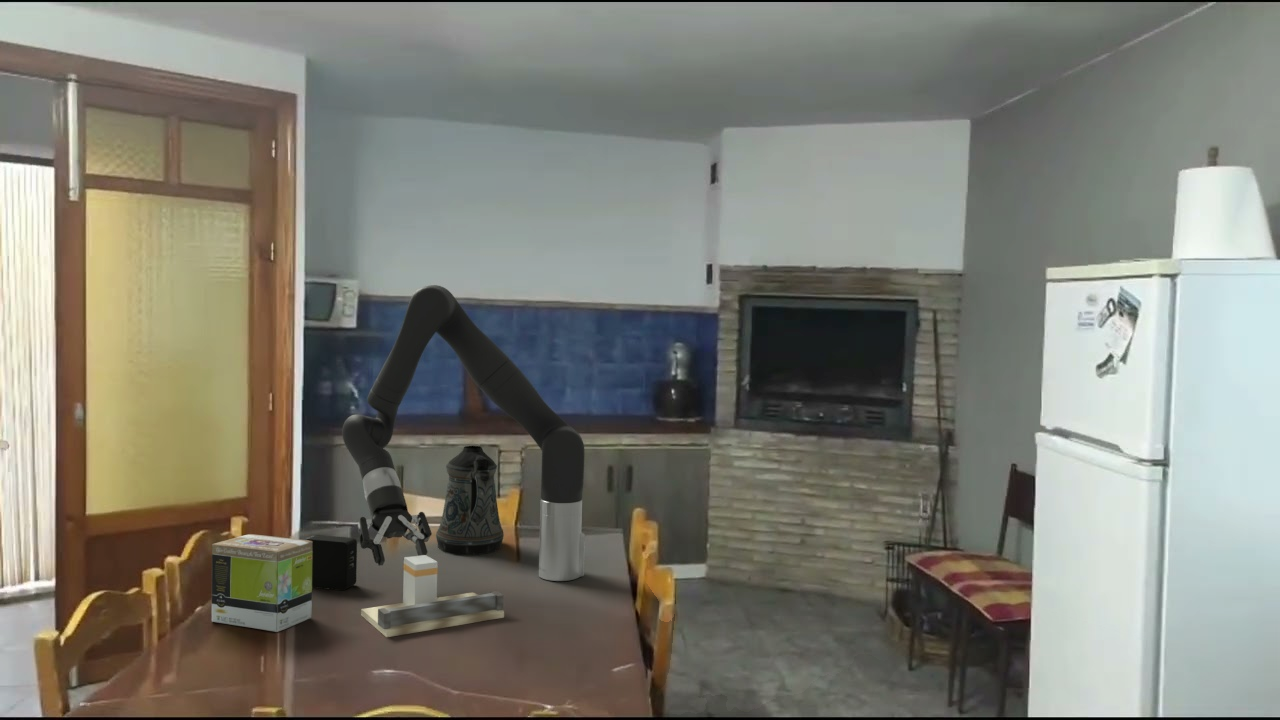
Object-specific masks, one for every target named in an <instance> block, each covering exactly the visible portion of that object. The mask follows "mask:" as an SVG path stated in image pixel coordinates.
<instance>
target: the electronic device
mask: <svg viewBox="0 0 1280 720" xmlns="http://www.w3.org/2000/svg"><path fill="white" fill-rule="evenodd" d="M305 540H309V541H312V588H314V587H318V588H317V589H324V588H329V590H335V589H338V590H337V591H345V590H347V589H348V588H349V589H350V587H353V586H354V585H356V583H357V569H358V568H357V564H358V562H357V561H358V560H357V559H358V558H357V557H358V541H357V539H356V538H354V537H347V536H346V537H345V536H334V535H322V534H321V535H320V534H316V535H311V536H310V537H306V538H305Z"/></svg>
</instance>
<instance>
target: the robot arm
mask: <svg viewBox="0 0 1280 720" xmlns="http://www.w3.org/2000/svg"><path fill="white" fill-rule="evenodd" d="M435 334H438V335H439V336H440V337H441V339H443V340H444V341H445V342H446V343H447V344H448V345H449V346H450V348H451V349H452V350H453V351H454V352H455V354H456V355H457V356H456V357H458V359H459V361H460V363H461V364H462V366H463V368H464V369H465V371H466V372H467V374H468V375H469V377H470V378H471V380H472V382H474V383H475V385H476V386H477V387H478V389H480V391H482V392H483V393H484V394H485V396H486V397H487V398H488V399H489V400H490V401H491V402H492V403H493V404H495V406H497V407H498V408H499V409H500V410H502V412H504V413H505V414H507V415H508V416H509V417H510V418H511V419H513V420H515V421H516V422H517V423H518V424H519V425H520V426H522V427H523V429H524V430H526V432H527V433H528V435H530V437H531V438H532V439H533V441H534V442H535V443H536V444H537V446H538V448H539V449H540V450H541V475H540V476H541V477H540V478H541V480H540V481H541V482H540V511H539V512H540V515H539V543H538V545H539V547H538V548H539V549H538V550H539V552H538V577H539V578H540V579H544V580H546V581H555V582H564V581H565V582H567V581H572V580H577V579H578V578H580V577H585V576H584V573H585V571H584V570H585V546H586V545H585V544H586V543H585V542H586V535H585V533H584V532H582V522H583V521H582V516H583V514H582V513H583V492H584V481H585V480H584V477H585V445H584V444H585V443H584V441H583V438H582V436H581V435H580V433H579V431H577V430H575V428H573V427H572V426H571V425H569V424H568V423H567V422H566V421H565V420H564V419H563V418H561V417H560V416H559V415H558V414H557V412H555V411H554V410H553V409H552V408H551V407H550V406H549V405H548V404H547V403H546V402H545V400H544V399H543V398H542V397H541V395H540V394H539V392H538V390H537V389H536V388H535V387H534V386H533V384H532V383H531V382H530V380H529V379H528V378H527V377H526V375H525V374H524V373H523V371H522V370H521V369H520V368H519V367H518V366H517V365H516V364H515V363H514V362H513V360H511V359H510V358H509V356H508V355H507V354H506V353H504V351H503V350H502V349H501V348H499V346H498V345H496V343H495V342H493V341H492V339H491V338H489V337H488V336H487V335H486V334H485V333H484V332H483V331H482V330H481V329H480V328H479V327H478V326H477V325H476V324H475V323H474V321H473V320H472V319H471V318H470V317H469V314H467V312H466V311H465V310H464V308H463V306H461V305H460V303H459V301H457V299H456V298H455V296H454V295H453V293H452V292H451V291H450V290H448V289H447V288H446V287H443V286H441V285H437V284H436V285H435V284H434V285H431V284H430V285H425V286H423V287H420V288H418V289H417V290H415V291H414V292H413V294H412V295H411V297H410V299H409V301H408V305H407V309H406V312H405V315H404V318H403V322H402V325H401V328H400V330H399V333H398V335H397V338H396V339H395V342H394V344H393V346H392V349H391V350H390V353H389V355H388V356H387V358H386V360H385V362H384V364H383V366H382V367H381V369H380V372H379V373H378V375H377V376H376V379H375V380H374V383H373V385H372V387H371V388H370V390H369V393H368V395H367V397H366V401H367V404H368V405H369V406H370V407H371V408H372V409H374V410H375V411H376V412H377V414H376V417H371V416H366V415H364V414H357V413H356V414H352V415H350V416H349V417H347V418H346V419H345V420H344V423H343V425H342V429H341V431H342V432H341V434H342V439H343V443H344V445H345V447H346V449H347V450H348V452H349V454H350V455H351V457H352V458H353V460H354V461H355V463H356V464H357V466H358V468H359V473H360V477H361V481H362V484H363V485H362V486H363V493H364V498H365V500H366V504H367V508H368V511H369V515H370V518H368V519H367V518H366V517H365V516H361V517H360V519H359V521H358V523H357V525H356V526H357V527H356V528H357V533H358V538H359V545H360V548H361V549H363V550H364V549H365V550H366V549H370V550H371V553H372V556H373V560H374V562H375V564H377V565H378V566H383V565H384V564H385V561H386V559H385V554H384V551H383V548H382V547H383V546H382V544H380V543H381V541H382V539H383V538H386V539H392V538H402V537H404V538H405V539H406V540H407V541H411V542H412V543H413V544H415V550H416V554H417V556H421V555H427V556H428V550H427V546H426V543H427V542H429V539H430V538H431V536H432V535H433V533H432V530H431V528H430V525H429V522H428V519H427V517H426V514H425V512H423V511H420V512H419V513H418V514H412V515H411V514H410V513H409V511H408V504H407V501H406V497H405V495H404V491H403V488H402V484H401V481H400V479H399V476H398V474H397V472H396V468H395V464H394V462H393V458H392V456H391V453H390V452H389V451H387V449H385V448H386V447H387V446H388V444H390V442H391V441H392V437H393V435H394V434H393V433H394V429H395V423H396V419H397V415H398V412H399V411H398V410H399V407H400V406H401V403H402V401H403V399H404V397H405V396H406V393H407V392H408V390H409V388H410V386H411V384H412V382H413V378H414V375H415V373H416V371H417V367H418V365H419V362H420V360H421V357H422V355H423V353H424V351H425V350H426V347H427V346H428V344H429V343H430V341H431V339H432V338H433V337H434V335H435ZM413 523H414V524H415V525H414V524H413ZM416 526H417V527H416ZM370 527H371V528H372V529H374V530H375V531H376V532H377V534H376V535H375V537H374V539H371V538H370V533H369V529H370Z"/></svg>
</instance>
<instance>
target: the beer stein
mask: <svg viewBox="0 0 1280 720" xmlns="http://www.w3.org/2000/svg"><path fill="white" fill-rule="evenodd" d="M497 468H498V465H497V464H496V463H495V461H494V460H493V459H492V458H491V457H490V456H489V455H487V453H485V451H484V450H483V447H482V446H481V445H480V446H479V445H466V446H463V448H462V451H460V452H459V453H458V454H457V455H455V456H454V457H453V458H452V459H451V460H449V461H448V462H447V464H446V465H445V469H446V473H447V474H448V481H447V488H446V492H445V498H444V499H445V500H444V505H443V511H442V516H441V519H440V524H439V526H438V528H437V531H436V533H435V538H436V541H437V549H438V548H439V549H438V550H440V551H442V552H444V553H447V554H453V555H464V556H465V555H481V554H490V553H494V552H497V551H498V550H500V549H502V544H503V539H504V529H503V527H502V524H501V521H500V516H499V510H498V509H499V508H498V501H497V494H496V483H495V474H496V472H497Z"/></svg>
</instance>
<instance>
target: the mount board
mask: <svg viewBox="0 0 1280 720" xmlns="http://www.w3.org/2000/svg"><path fill="white" fill-rule="evenodd" d="M360 615H361V617H362V618H363V619H364V620H366V622H368V623H370V625H371V626H372V627H373V628H375V629H376V630H377V631H378V632H380V633H381V634H382V635H383V636H384V637H385V638H391V637H396V636H398V637H399V636H402V635H403V636H404V635H408V634H416V633H419V632H420V633H421V632H426V631H431V630H437V629H444V628H449V627H456V626H462V625H467V624H472V623H474V624H475V623H480V622H484V621H490V620H496V619H504V618H505V610H504V595H503V594H502V593H500V592H499V591H495V590H494V591H490V593H484V594H477V593H475V592H466V593H459V594H454V595H453V594H451V595H447V596H439V597H437V601H436V602H430V603H423V604H417V605H410V606H406V605H404V604H403V602H400V603H393V604H387V605H379V606H374V607H373V606H372V607H368V608H367V607H366V608H361V610H360Z"/></svg>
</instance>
